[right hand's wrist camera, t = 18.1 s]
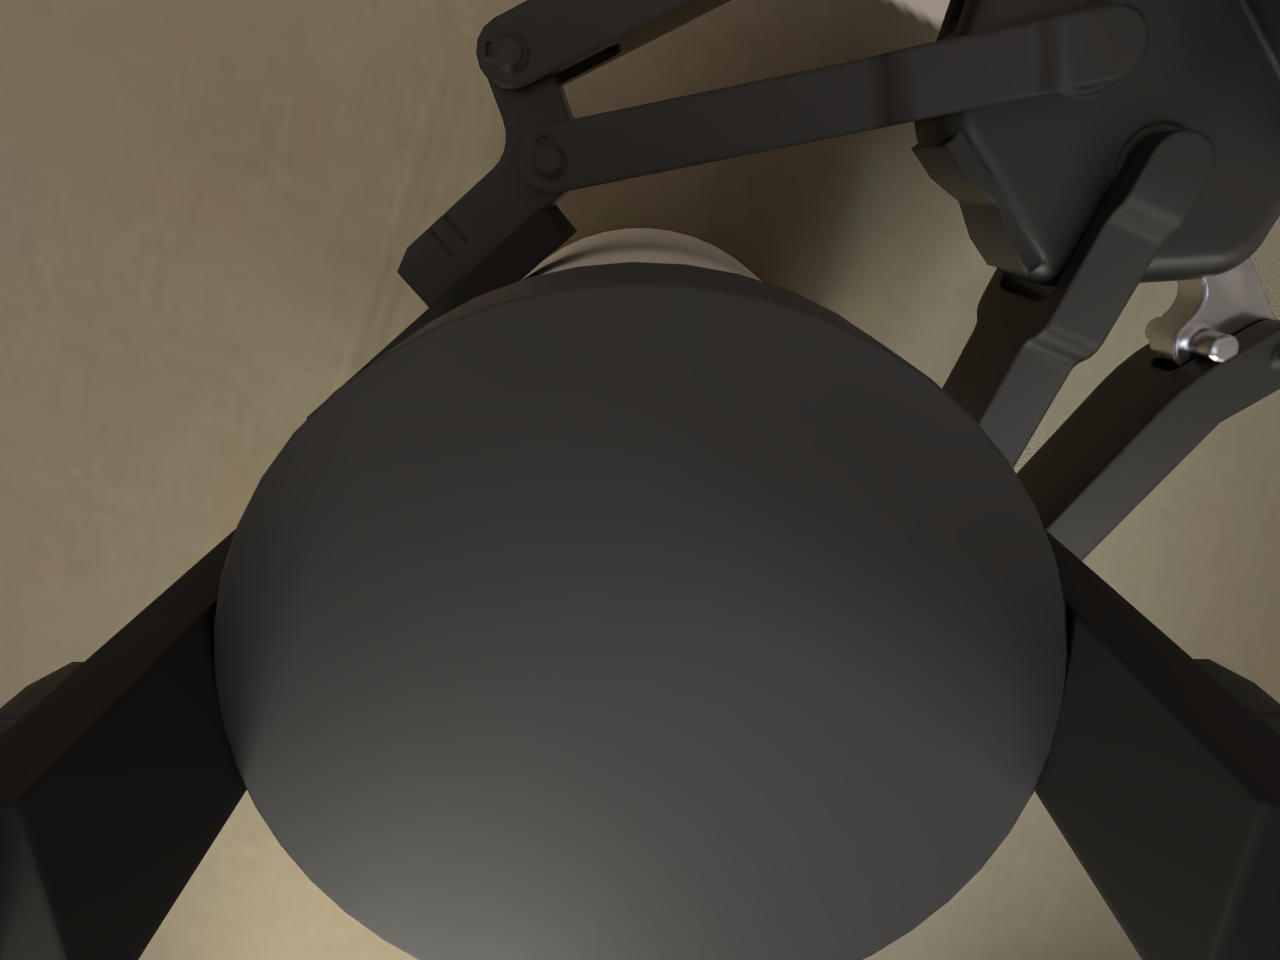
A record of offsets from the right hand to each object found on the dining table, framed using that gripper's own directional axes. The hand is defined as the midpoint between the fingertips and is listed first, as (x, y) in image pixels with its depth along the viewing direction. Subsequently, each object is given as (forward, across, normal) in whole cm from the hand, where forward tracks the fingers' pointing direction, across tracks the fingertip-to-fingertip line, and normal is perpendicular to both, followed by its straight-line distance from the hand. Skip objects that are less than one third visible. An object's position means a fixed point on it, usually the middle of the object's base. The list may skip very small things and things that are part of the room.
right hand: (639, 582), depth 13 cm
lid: (-3, 0, 0) cm, 3 cm away
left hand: (+6, -3, -3) cm, 7 cm away
